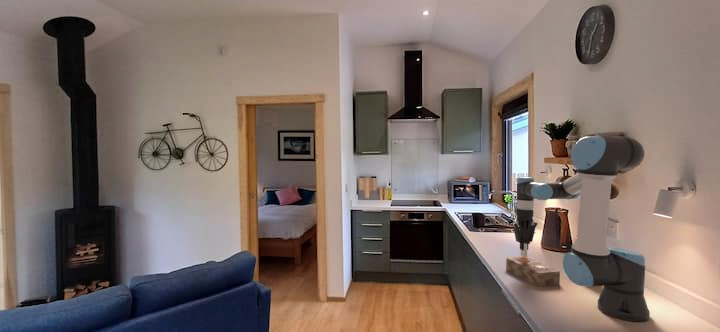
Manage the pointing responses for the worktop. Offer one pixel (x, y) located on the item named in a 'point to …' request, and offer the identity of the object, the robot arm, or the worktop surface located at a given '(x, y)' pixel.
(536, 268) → the white oval piece
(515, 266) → the walnut plug block
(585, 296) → the worktop surface
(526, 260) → the terracotta plug
